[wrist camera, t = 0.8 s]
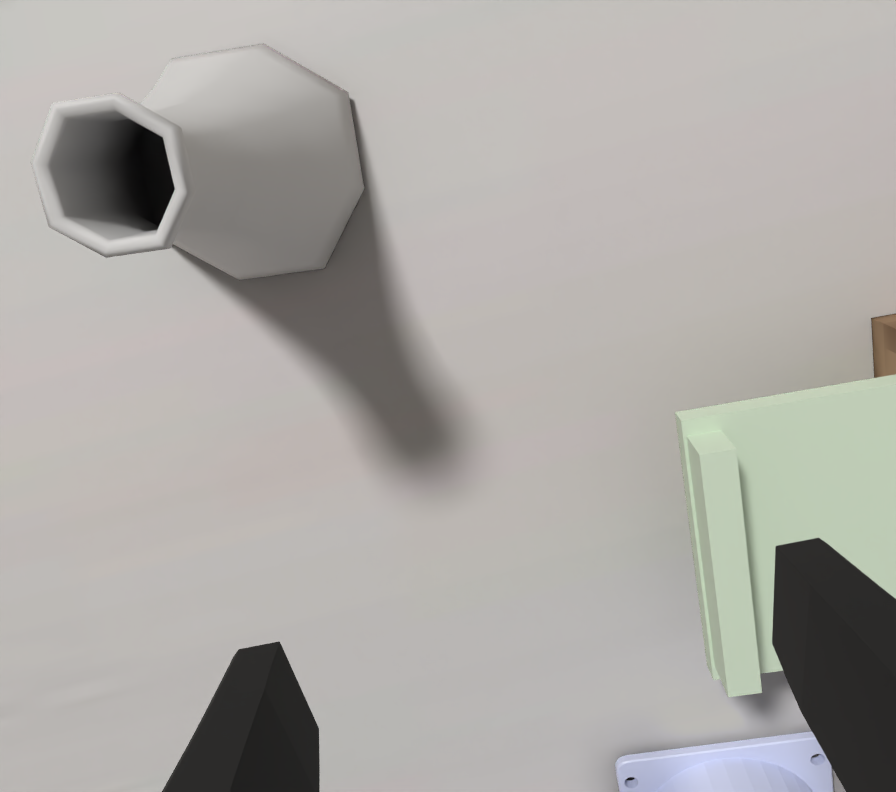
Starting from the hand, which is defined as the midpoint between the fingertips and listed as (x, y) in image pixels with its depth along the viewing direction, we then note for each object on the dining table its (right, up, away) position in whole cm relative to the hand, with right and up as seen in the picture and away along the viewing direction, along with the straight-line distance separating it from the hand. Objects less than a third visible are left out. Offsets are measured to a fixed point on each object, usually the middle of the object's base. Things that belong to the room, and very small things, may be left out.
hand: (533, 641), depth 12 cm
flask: (-7, +11, +14) cm, 19 cm away
